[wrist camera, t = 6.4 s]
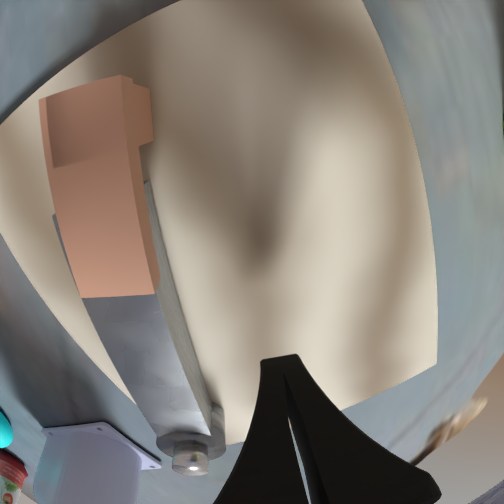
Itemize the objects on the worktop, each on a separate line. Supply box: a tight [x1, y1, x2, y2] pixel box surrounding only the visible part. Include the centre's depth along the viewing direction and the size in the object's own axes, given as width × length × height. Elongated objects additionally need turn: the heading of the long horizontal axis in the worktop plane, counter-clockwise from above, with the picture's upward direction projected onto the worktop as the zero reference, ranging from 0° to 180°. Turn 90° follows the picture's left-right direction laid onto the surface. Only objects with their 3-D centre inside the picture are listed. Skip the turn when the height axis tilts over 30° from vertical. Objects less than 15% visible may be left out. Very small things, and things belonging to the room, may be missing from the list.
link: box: [52, 180, 226, 476], centre depth 12 cm, size 16×4×4 cm, turn 7°
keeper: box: [39, 75, 161, 298], centre depth 9 cm, size 6×2×4 cm, turn 3°
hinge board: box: [0, 0, 438, 445], centre depth 14 cm, size 19×24×1 cm
